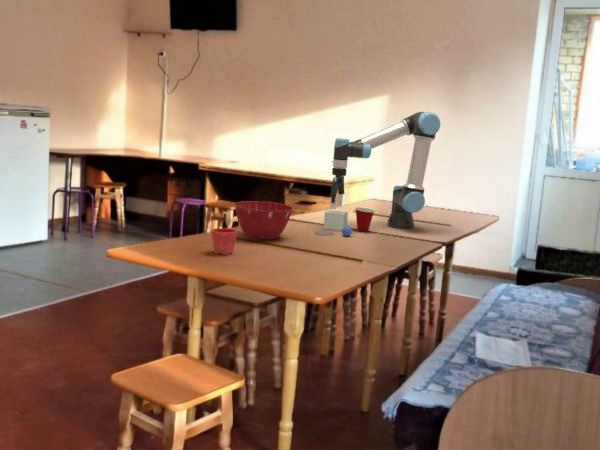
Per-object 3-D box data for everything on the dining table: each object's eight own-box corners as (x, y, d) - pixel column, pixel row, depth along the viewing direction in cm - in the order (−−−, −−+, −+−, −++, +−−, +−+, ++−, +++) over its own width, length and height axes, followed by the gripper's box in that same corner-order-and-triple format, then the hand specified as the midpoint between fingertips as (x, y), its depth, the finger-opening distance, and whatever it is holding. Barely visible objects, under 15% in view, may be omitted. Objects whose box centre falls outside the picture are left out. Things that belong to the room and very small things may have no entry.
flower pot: (211, 249, 296) (211, 227, 294) (236, 250, 297) (237, 228, 295) (209, 254, 286) (210, 231, 284) (236, 255, 287) (237, 233, 285)
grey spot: (335, 233, 354) (335, 232, 354) (330, 236, 345) (330, 235, 345) (317, 230, 357) (317, 230, 357) (311, 233, 348) (311, 233, 348)
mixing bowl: (299, 235, 340) (301, 205, 338) (278, 245, 314) (280, 212, 311) (247, 229, 349) (248, 199, 347) (222, 238, 323) (224, 205, 320)
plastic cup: (372, 233, 360) (374, 211, 358) (351, 231, 362) (353, 209, 360) (374, 230, 370) (376, 208, 368) (354, 228, 372) (356, 206, 370)
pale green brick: (346, 227, 372) (348, 211, 370) (342, 230, 362) (343, 214, 361) (328, 225, 375) (329, 209, 373) (323, 228, 365) (324, 212, 364)
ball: (352, 236, 349) (353, 226, 348) (350, 237, 344) (350, 227, 344) (342, 234, 351) (343, 225, 350) (340, 236, 346) (341, 226, 345)
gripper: (338, 165, 376) (335, 204, 380) (326, 168, 353) (322, 209, 356) (352, 167, 374) (348, 205, 377) (340, 169, 350) (336, 210, 354)
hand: (336, 207), depth 367 cm, fingers open, 13 cm apart
